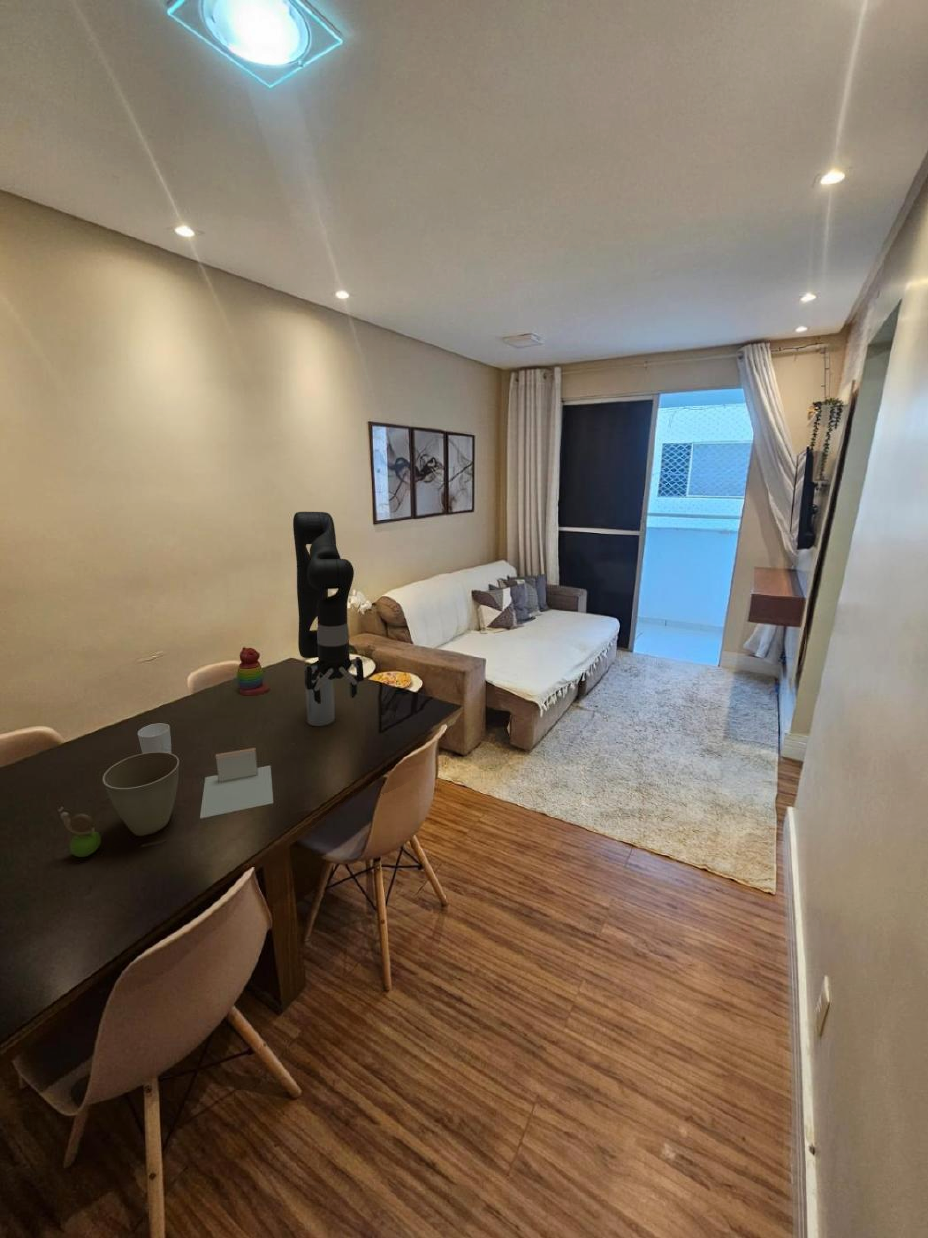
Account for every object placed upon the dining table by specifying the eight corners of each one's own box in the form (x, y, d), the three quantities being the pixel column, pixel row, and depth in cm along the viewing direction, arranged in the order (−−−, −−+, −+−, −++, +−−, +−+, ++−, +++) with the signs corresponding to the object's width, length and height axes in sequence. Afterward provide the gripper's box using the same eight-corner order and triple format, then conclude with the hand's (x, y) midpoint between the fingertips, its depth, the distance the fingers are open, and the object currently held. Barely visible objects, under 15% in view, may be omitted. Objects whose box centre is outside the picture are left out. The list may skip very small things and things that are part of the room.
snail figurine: (78, 844, 110) (68, 800, 106) (108, 844, 110) (98, 799, 107) (61, 863, 104) (50, 817, 101) (92, 862, 105) (82, 816, 102)
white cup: (179, 756, 144) (175, 727, 141) (154, 770, 137) (149, 739, 135) (162, 750, 147) (158, 720, 145) (136, 762, 141) (131, 732, 138)
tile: (218, 779, 134) (215, 754, 131) (257, 772, 138) (255, 747, 135) (218, 782, 132) (215, 757, 130) (257, 775, 136) (255, 750, 134)
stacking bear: (271, 691, 189) (268, 649, 184) (245, 698, 182) (241, 655, 177) (259, 682, 196) (255, 641, 191) (234, 689, 189) (229, 647, 184)
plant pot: (133, 858, 107) (122, 797, 102) (102, 831, 114) (90, 773, 109) (199, 820, 119) (191, 764, 114) (167, 798, 126) (158, 744, 122)
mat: (205, 779, 135) (205, 777, 134) (270, 767, 141) (270, 765, 141) (200, 820, 119) (199, 818, 119) (273, 804, 125) (273, 803, 125)
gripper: (357, 632, 124) (359, 689, 129) (300, 638, 118) (304, 698, 122) (366, 641, 118) (367, 701, 122) (305, 648, 111) (309, 711, 116)
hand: (335, 699), depth 122 cm, fingers open, 8 cm apart
